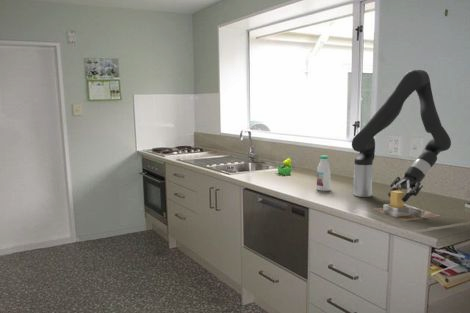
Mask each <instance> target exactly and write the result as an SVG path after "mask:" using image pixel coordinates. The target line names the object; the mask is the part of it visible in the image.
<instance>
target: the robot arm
mask: <svg viewBox="0 0 470 313" xmlns="http://www.w3.org/2000/svg"><path fill="white" fill-rule="evenodd" d="M413 92H416V94H417V96H418V99H419V104H420V119H421V122H422V125H423V128H424V129H425V132H426V133H427V134H430V135H431V136H432V138H431V139H430V140H429V141H428V142H427V143H426V144H425V146H424V148H423V150H422V153H421V154H419V156H418V157H417V159H416V160H415V161H414V162H412V163H411V165H410V166H409V168H407V169H406V171H405V173H404V177H402V178H400V177H399V176H397V177H396V178H395V179H394V180H393V181H392V182H391V184H390V185H389V187H390V188H391V190H390V191H389V192H388V193H387V196H388V197H389V198H390V196H391V191H396V190H399V191H402V190H406V191H407V192H405V193H404V196H403V197H402V201H403V202H404V203H406V202H407V201H408V200H409V199H410V198H411V197H412V196H414V197H416V196H417V195H418V194H419V193H420V191H421V189H422V188H424V186H423V184H422V183H421V182H423V180H424V179H425V177H426V176H427V175H428V174H429V172H430V171H431V169H432V167H433V166H434V165H435V164H436V163H437V161H438V155H439V154H440V153H442V152H444V151H448V150H449V149H450V148H451V146H452V141H451V138H450V135H449V134H448V132H447V131H446V129H445V128H444V126H443V125H442V122H441V120H440V115H439V113H438V110H437V108H436V104H435V100H434V96H433V90H432V85H431V80H430V75H429V73H428V72H427V71H426V70H423V69H412V70H408V71H407V72H406V73H405V74H404V75H403V77H402V78H401V80H399V82H398V84H397V86H396V87H395V89H394V90H393V91H392V92H391V94H390V95H389V96H388V97H387V98H386V99H385V101H384V102H383V103H382V105H381V106H380V107H379V108H378V110H376V112H375V114H374V115H373V116H372V117H371V118H370V120H369V121H368V122H367V123H366V124H365V126H364V127H363V128H361V129H360V131H359V132H358V133H357V134H355V136H354V137H353V139H352V140H351V148H352V149H353V150H354V151H355V152H356V153H358V154H357V156H356V157H355V158H354V163H353V164H354V169H353V171H354V174H353V177H352V195H353V196H355V197H361V198H369V197H372V192H373V191H372V190H373V187H372V186H373V185H372V184H373V163H374V160H375V152H376V139H375V138H374V137H376V135H378V134H379V133H380V132H382V131H383V130H385V129H386V128H388V127H389V126H390V125H391V124H393V122H395V120H396V119H397V118H398V116H399V115H400V114H401V111H402V109H403V105H404V104H405V102H406V100H407V99H408V98H409V97H410V95H412V94H413Z"/></svg>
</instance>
